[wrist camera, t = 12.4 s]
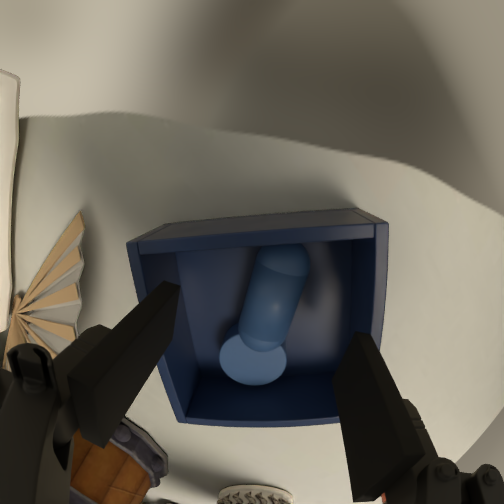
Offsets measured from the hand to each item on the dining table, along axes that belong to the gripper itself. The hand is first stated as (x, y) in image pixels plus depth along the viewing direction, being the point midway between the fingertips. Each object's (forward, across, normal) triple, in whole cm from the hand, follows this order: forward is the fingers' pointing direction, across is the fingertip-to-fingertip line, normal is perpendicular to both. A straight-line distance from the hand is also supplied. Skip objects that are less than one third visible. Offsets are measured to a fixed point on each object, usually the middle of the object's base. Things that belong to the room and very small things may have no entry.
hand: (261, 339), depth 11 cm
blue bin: (+5, 0, -1) cm, 5 cm away
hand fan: (+5, -21, -8) cm, 23 cm away
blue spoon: (+4, 0, -1) cm, 5 cm away
